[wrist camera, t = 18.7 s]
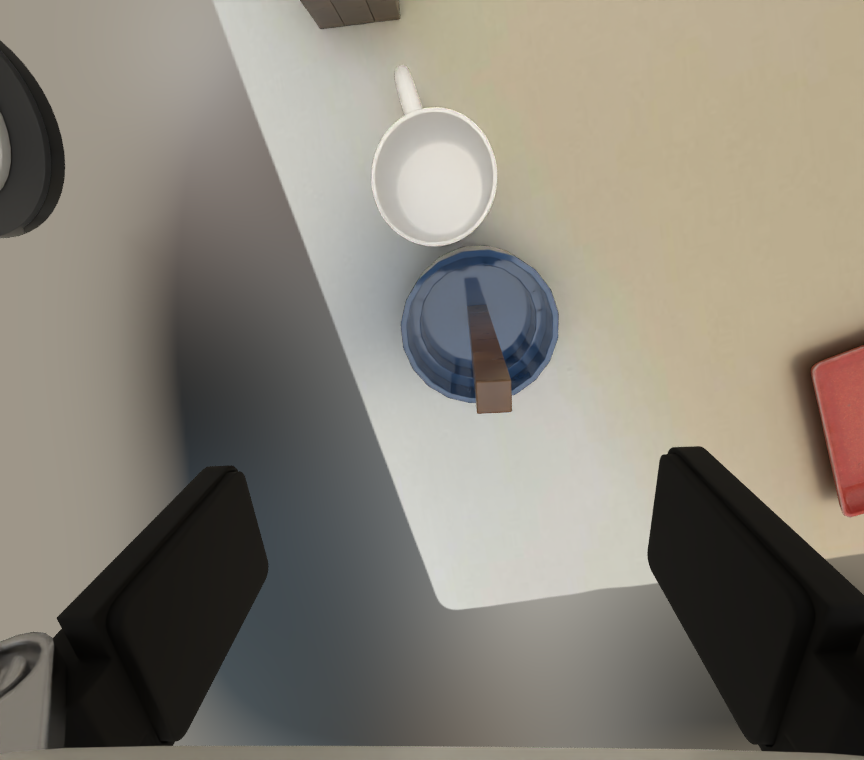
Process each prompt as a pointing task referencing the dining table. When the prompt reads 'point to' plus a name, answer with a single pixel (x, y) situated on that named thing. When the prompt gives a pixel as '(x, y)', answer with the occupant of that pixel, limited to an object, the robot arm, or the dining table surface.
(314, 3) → the stand
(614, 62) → the dining table surface
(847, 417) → the plant saucer
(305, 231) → the dining table surface
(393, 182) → the cup
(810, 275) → the dining table surface
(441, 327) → the bowl
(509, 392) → the stick
